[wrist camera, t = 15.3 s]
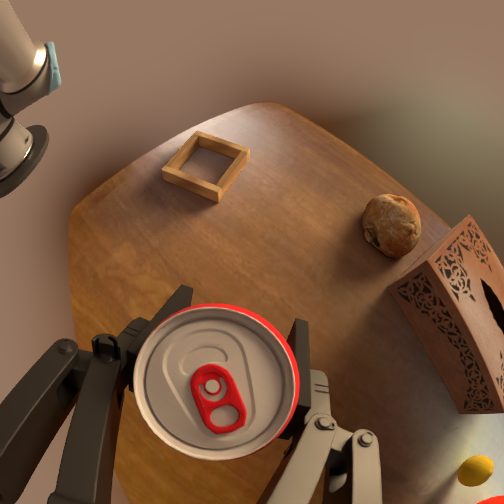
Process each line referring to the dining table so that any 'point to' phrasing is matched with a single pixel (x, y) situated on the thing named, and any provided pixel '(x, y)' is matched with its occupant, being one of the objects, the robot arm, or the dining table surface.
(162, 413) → the beverage can
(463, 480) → the lemon
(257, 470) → the dining table surface
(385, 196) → the bread roll
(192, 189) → the square wooden frame
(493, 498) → the apple
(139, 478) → the dining table surface
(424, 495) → the dining table surface
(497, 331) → the tissue box cover
